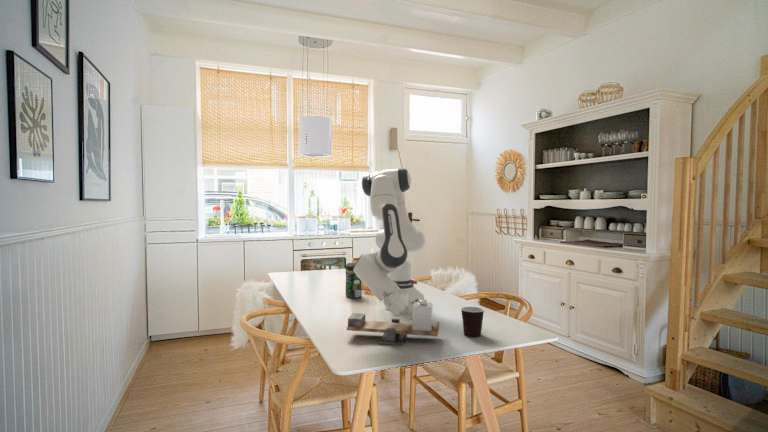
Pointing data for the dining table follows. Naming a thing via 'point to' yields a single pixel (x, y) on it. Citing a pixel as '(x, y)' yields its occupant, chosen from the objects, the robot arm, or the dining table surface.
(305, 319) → the dining table surface
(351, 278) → the coffee jar
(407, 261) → the robot arm
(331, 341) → the dining table surface
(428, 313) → the block
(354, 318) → the beam
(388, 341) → the fulcrum
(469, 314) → the coffee mug
